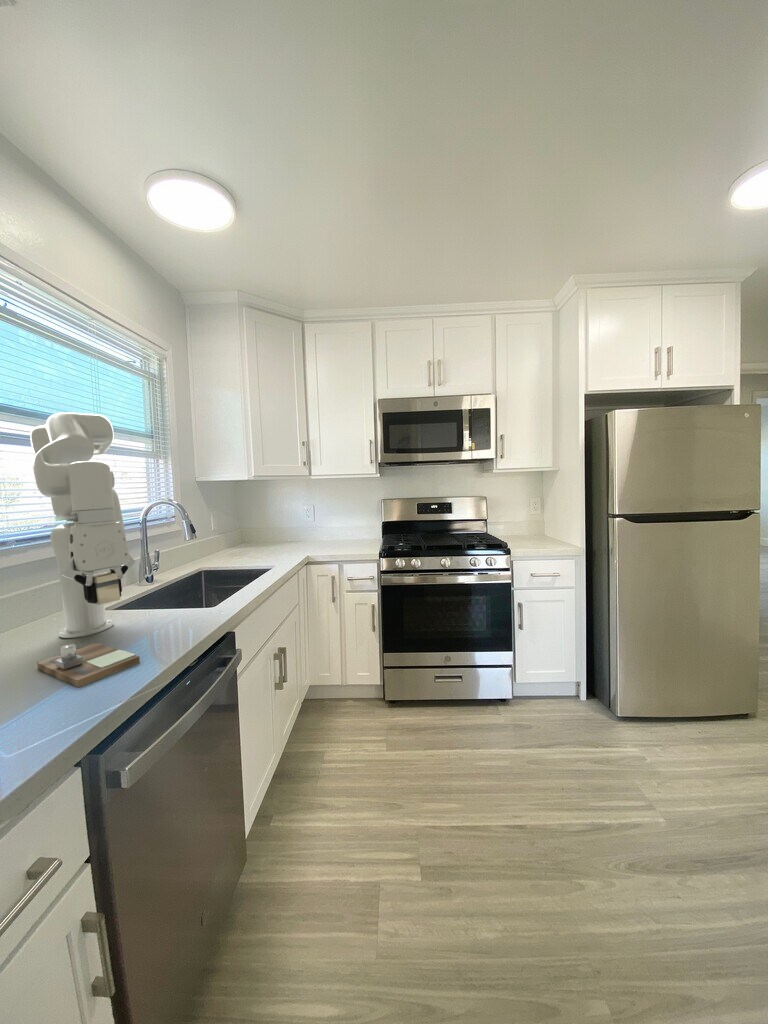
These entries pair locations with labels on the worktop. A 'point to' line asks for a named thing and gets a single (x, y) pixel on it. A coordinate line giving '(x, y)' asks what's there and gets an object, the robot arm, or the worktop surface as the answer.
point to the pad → (110, 658)
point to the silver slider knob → (68, 657)
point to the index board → (86, 666)
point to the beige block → (106, 587)
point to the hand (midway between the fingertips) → (104, 598)
